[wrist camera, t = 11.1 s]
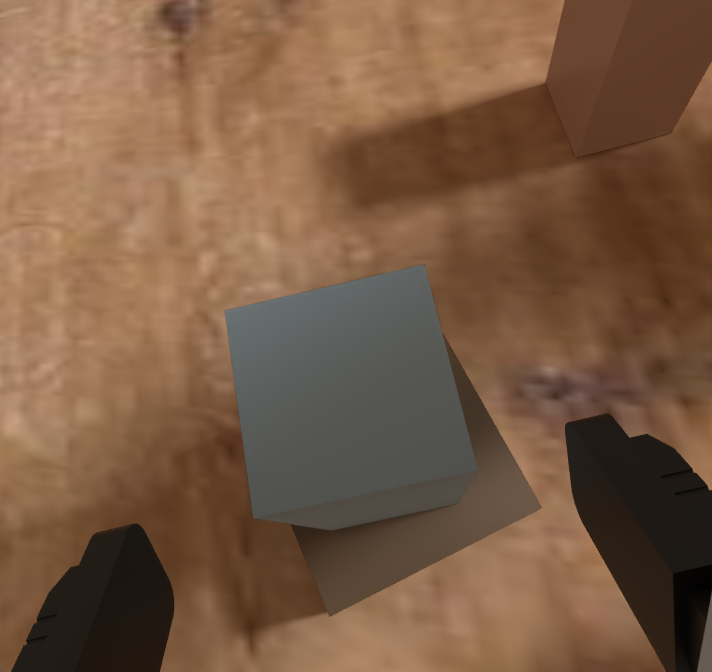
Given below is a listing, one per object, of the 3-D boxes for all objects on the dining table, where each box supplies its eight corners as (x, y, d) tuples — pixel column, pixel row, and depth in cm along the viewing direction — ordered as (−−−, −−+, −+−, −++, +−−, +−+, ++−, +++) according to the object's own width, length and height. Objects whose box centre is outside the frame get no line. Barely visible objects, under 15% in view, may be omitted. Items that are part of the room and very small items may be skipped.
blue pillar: (309, 405, 23) (224, 310, 14) (428, 379, 23) (424, 264, 14) (331, 530, 22) (253, 518, 12) (458, 503, 22) (477, 469, 12)
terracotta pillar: (545, 82, 31) (593, -122, 22) (635, 59, 31) (723, -158, 21) (576, 157, 29) (641, -27, 20) (671, 133, 29) (782, -65, 20)
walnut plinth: (268, 426, 27) (241, 406, 24) (431, 344, 28) (431, 312, 24) (346, 606, 25) (329, 616, 21) (526, 514, 25) (542, 507, 21)
